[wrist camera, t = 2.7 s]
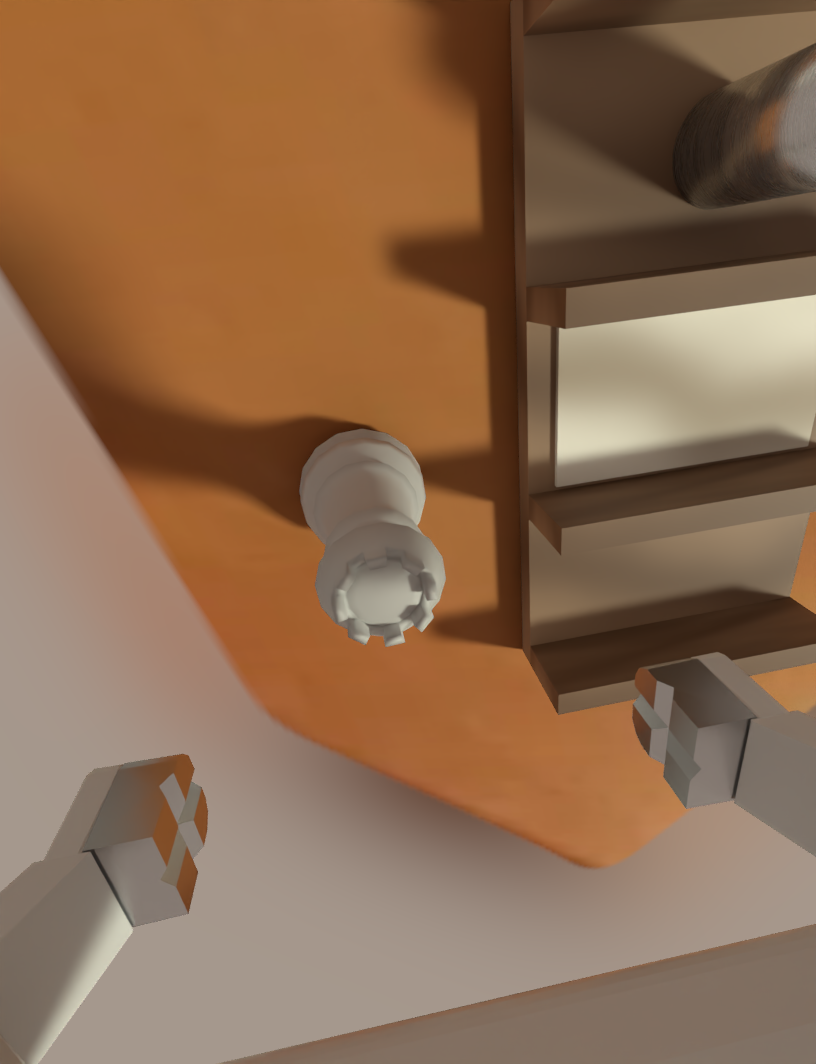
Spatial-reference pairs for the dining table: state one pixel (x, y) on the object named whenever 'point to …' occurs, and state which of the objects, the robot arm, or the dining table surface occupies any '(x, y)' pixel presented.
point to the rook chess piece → (371, 535)
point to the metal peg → (751, 137)
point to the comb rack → (655, 353)
